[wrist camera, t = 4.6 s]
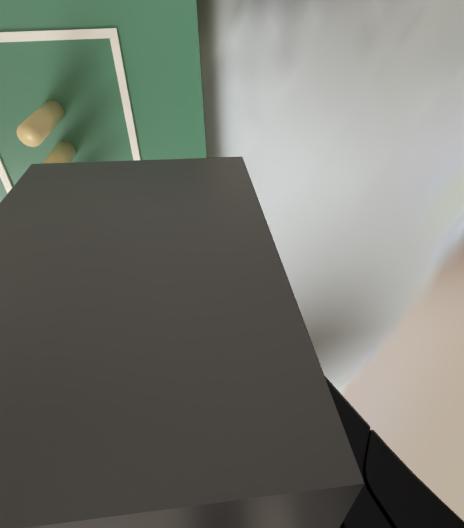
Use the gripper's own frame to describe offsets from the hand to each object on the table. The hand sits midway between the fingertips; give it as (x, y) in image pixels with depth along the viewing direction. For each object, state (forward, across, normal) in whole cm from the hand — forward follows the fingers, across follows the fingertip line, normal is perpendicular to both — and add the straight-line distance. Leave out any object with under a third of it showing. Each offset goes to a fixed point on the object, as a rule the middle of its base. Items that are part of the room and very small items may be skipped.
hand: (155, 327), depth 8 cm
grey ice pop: (+1, 0, +2) cm, 2 cm away
